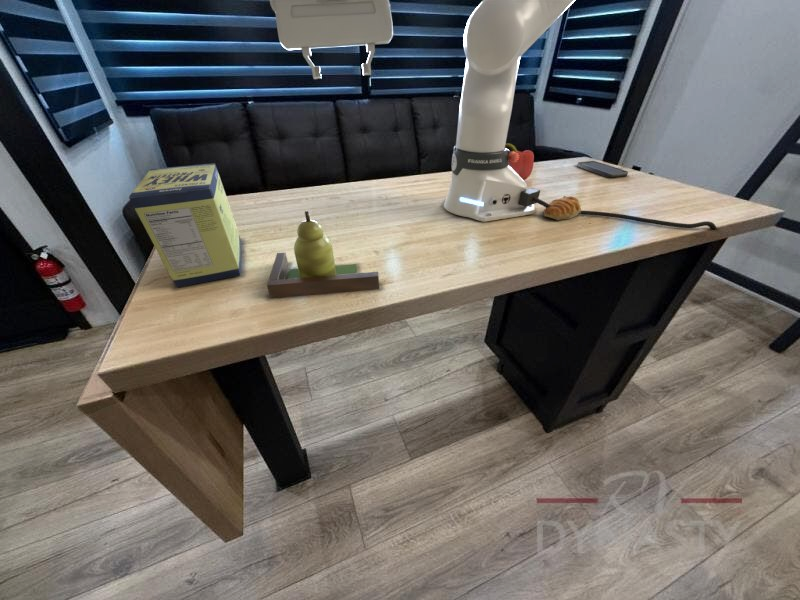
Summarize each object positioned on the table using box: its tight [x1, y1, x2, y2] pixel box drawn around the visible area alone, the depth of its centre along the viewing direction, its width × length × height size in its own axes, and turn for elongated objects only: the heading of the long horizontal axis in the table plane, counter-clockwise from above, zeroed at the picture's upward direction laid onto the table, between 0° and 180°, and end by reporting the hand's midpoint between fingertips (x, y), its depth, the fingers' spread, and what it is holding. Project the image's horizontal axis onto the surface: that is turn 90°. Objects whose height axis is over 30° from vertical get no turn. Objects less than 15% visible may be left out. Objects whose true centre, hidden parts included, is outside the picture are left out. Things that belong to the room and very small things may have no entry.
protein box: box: [128, 162, 242, 288], centre depth 56 cm, size 10×16×16 cm
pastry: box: [543, 195, 582, 221], centre depth 77 cm, size 9×7×4 cm
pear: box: [293, 210, 336, 278], centre depth 52 cm, size 6×6×12 cm
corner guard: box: [266, 252, 380, 299], centre depth 55 cm, size 18×10×2 cm, turn 99°
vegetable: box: [505, 142, 535, 181], centre depth 97 cm, size 11×10×10 cm
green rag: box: [286, 264, 358, 279], centre depth 56 cm, size 12×7×1 cm, turn 99°
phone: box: [576, 160, 629, 179], centre depth 107 cm, size 8×1×15 cm
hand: (342, 76), depth 61 cm, fingers open, 8 cm apart
